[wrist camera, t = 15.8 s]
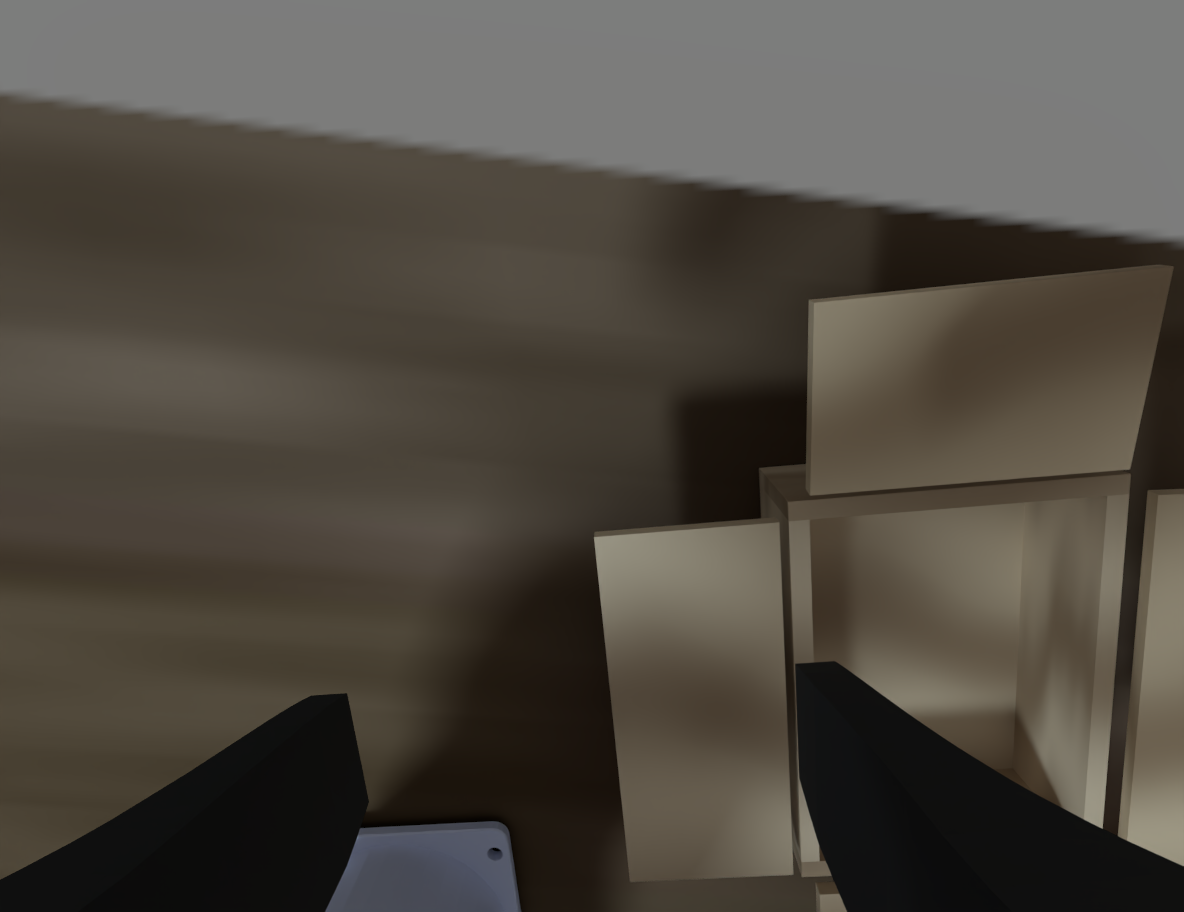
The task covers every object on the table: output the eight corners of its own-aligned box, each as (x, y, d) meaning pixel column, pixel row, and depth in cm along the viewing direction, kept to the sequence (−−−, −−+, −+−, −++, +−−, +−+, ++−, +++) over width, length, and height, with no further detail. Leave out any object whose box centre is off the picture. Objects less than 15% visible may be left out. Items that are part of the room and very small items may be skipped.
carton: (1016, 896, 22) (1095, 1013, 19) (641, 912, 23) (645, 1028, 19) (1038, 443, 19) (1140, 477, 15) (597, 481, 20) (592, 521, 16)
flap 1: (1173, 266, 13) (1158, 264, 14) (814, 302, 14) (808, 299, 14) (1130, 469, 15) (1117, 462, 15) (810, 495, 15) (805, 488, 16)
